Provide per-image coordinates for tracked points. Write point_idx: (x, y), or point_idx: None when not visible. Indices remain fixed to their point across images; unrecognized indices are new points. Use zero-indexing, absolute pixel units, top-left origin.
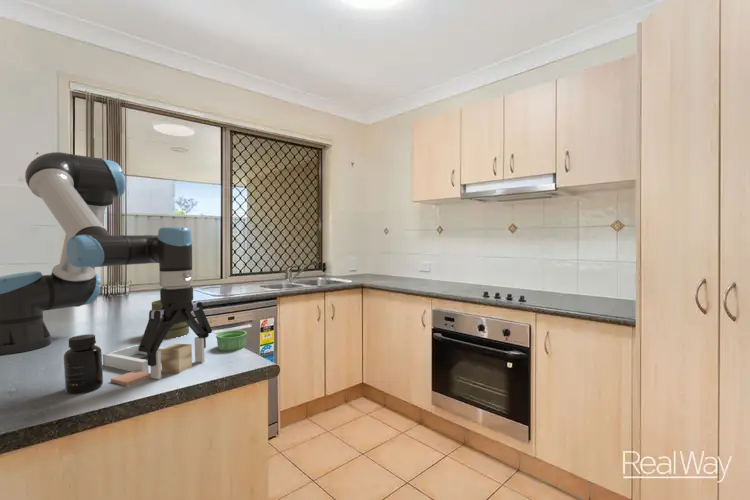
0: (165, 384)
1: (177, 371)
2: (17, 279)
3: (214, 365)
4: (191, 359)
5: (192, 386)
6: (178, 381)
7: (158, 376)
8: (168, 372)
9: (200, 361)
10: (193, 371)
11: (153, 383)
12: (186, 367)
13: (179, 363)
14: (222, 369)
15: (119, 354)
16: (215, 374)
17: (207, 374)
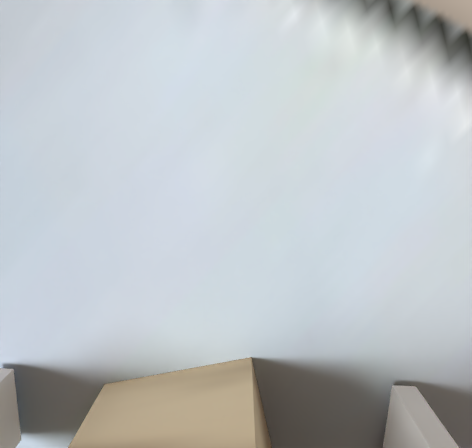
0: (463, 269)
1: (254, 379)
2: None
3: (4, 234)
4: (84, 426)
5: (446, 20)
6: (388, 226)
7: (424, 400)
8: (268, 437)
9: (13, 390)
10: (181, 288)
11: (468, 364)
12: (166, 381)
13: (246, 413)
14: (41, 85)
15: None
16: (159, 48)
17: (187, 121)
